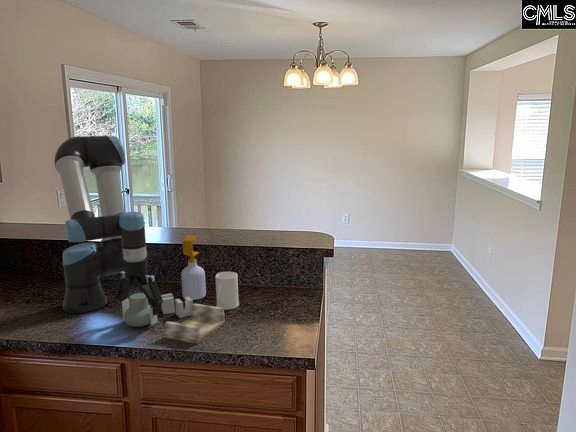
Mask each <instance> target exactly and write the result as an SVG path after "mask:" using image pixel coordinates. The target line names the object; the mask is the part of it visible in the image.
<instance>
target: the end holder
mask: <svg viewBox="0 0 576 432" xmlns="http://www.w3.org/2000/svg"><path fill="white" fill-rule="evenodd" d="M192 308H193V315H190V316H189V318H187V319H186V320H184V321H183V322H181V323H179V322H173V321H168V320H167V321H166V322H165V323H164V326H165V334H164V336H165V338H166V339H171V340H176V341H181V342H186V343H190V344H196V345H198V344H199V343H201V342H202V341H203V340H205V339H206V338H207V337H209V335H211V334H212V333H213V332H214V331H215V330H216V329H218V328H219V327H220V326H222V325H223V324H224V323H225V322H226V318H225V310H224V308H220V307H217V306H213V305H207V304H201V303H194V302H193V305H192Z"/></svg>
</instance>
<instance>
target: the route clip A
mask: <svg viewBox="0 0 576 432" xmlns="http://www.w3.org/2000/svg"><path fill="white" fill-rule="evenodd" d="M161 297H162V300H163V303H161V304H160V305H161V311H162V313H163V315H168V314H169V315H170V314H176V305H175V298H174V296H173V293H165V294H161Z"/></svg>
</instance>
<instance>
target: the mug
mask: <svg viewBox="0 0 576 432" xmlns="http://www.w3.org/2000/svg"><path fill="white" fill-rule="evenodd" d="M238 276H239V275H238V273H237V272H234V271H221V272H217V273H216V274H215V291H216V292H215V294H216V306H215V307H220V308H224V311H225V310H228V311H229V310H233V309H236V308H238V307H239V306H240V301H239V283H238V282H239V281H238V278H239V277H238Z"/></svg>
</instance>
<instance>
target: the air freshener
mask: <svg viewBox="0 0 576 432" xmlns="http://www.w3.org/2000/svg"><path fill="white" fill-rule="evenodd" d="M128 299H129V306H130V307H129V308H128V309H127V311H126V319H125V324H126V325H128V326H129V327H132V328H133V327H134V328H140V327H146V326H148V325H149V324H150V325H151V323H150V310H149V306H151V304H149V301H148V299H147V297H146V296H145V294H144V292H136V293H133V294H131V295H130V296H129V297H128Z"/></svg>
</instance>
